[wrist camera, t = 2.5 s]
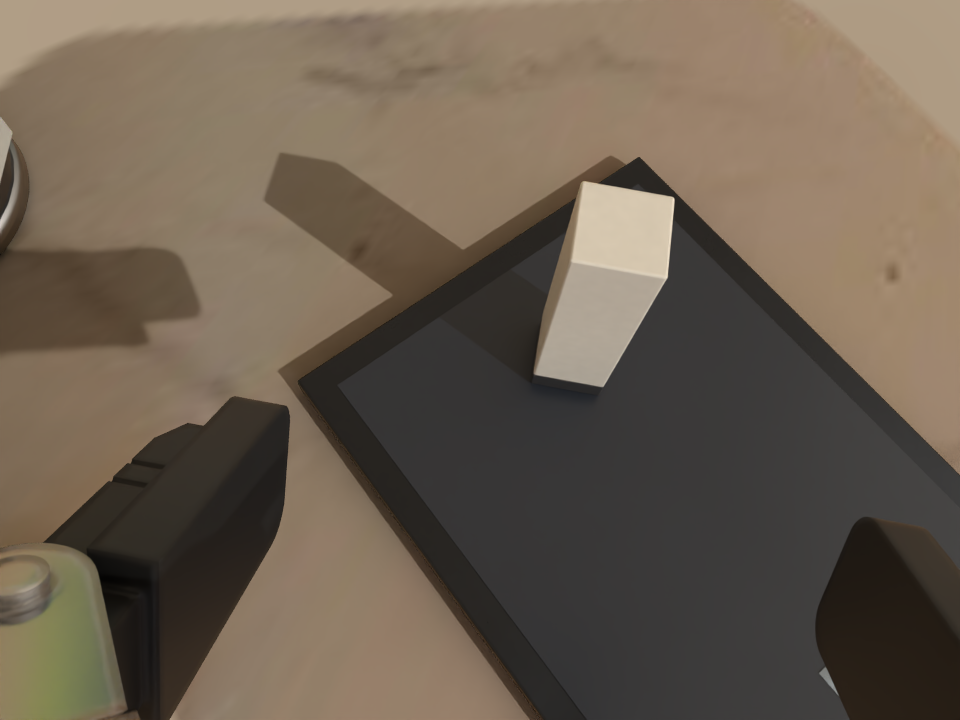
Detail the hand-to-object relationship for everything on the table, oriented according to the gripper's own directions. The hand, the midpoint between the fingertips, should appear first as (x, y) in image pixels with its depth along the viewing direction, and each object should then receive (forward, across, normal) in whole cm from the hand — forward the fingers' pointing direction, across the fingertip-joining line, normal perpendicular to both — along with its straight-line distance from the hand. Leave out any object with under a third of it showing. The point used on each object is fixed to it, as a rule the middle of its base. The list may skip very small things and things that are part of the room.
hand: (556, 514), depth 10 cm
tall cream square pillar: (+15, -1, +4) cm, 16 cm away
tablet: (+13, -6, +7) cm, 16 cm away
